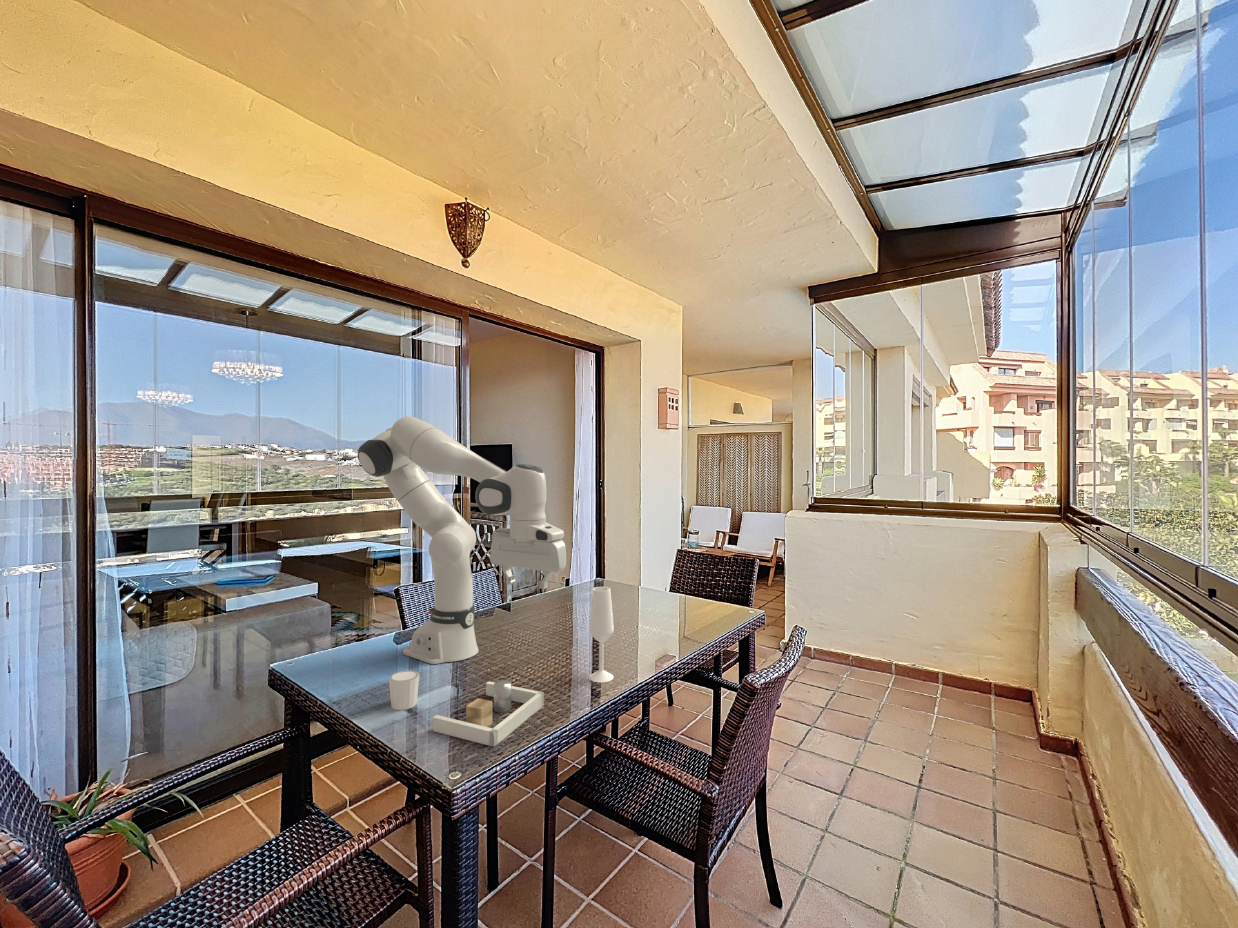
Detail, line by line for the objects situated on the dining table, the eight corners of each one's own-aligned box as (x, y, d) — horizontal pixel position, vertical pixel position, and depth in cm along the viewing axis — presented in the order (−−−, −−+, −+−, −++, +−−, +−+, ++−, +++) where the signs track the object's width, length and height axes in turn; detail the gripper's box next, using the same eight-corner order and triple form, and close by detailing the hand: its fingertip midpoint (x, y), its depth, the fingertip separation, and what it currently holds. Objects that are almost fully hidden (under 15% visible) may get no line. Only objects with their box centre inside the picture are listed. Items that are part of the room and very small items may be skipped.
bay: (432, 731, 115) (432, 717, 115) (488, 693, 134) (488, 681, 134) (494, 746, 109) (494, 732, 109) (544, 704, 128) (544, 692, 128)
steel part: (490, 710, 125) (490, 685, 125) (500, 703, 128) (500, 678, 128) (504, 714, 123) (504, 688, 123) (514, 706, 127) (514, 681, 127)
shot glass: (384, 704, 128) (384, 675, 128) (412, 695, 133) (412, 667, 132) (395, 714, 123) (395, 684, 123) (424, 704, 128) (424, 675, 128)
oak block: (466, 728, 117) (466, 705, 117) (477, 720, 120) (477, 698, 120) (481, 732, 115) (481, 709, 115) (492, 723, 119) (492, 701, 119)
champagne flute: (597, 684, 139) (598, 593, 139) (584, 675, 145) (584, 588, 144) (618, 678, 143) (619, 589, 143) (604, 670, 149) (604, 584, 148)
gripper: (485, 528, 132) (484, 583, 133) (557, 535, 125) (556, 593, 125) (500, 525, 138) (499, 578, 138) (569, 531, 130) (568, 587, 131)
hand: (526, 585), depth 132 cm, fingers open, 8 cm apart
